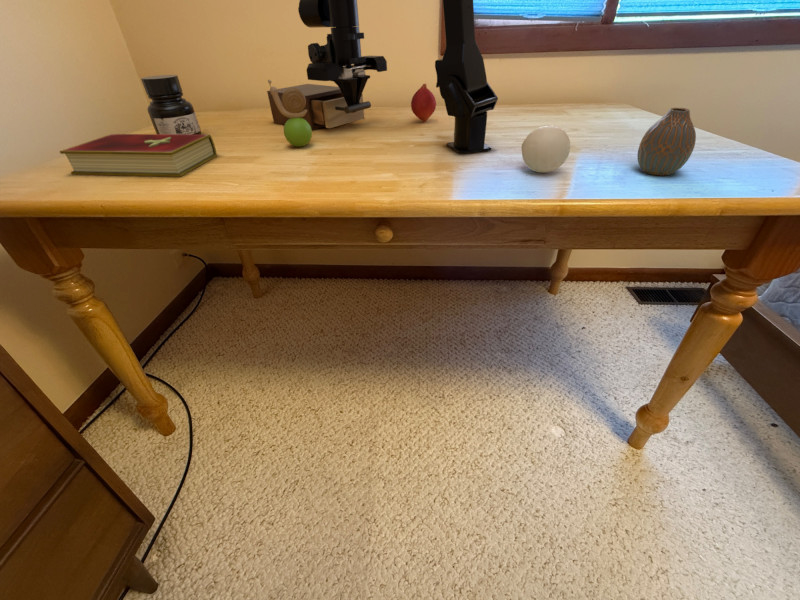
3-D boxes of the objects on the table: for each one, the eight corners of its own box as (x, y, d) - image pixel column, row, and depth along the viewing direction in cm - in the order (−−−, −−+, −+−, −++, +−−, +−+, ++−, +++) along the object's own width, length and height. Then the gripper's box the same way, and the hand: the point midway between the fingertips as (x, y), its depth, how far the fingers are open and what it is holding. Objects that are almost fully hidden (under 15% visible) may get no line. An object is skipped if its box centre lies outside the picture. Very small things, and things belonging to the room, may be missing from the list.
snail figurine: (279, 145, 78) (265, 78, 71) (310, 141, 80) (300, 75, 73) (284, 152, 74) (269, 81, 67) (316, 147, 76) (306, 78, 69)
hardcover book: (121, 154, 77) (111, 132, 74) (217, 155, 74) (210, 132, 71) (72, 174, 67) (58, 149, 65) (180, 176, 64) (170, 150, 62)
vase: (682, 182, 55) (709, 116, 50) (629, 174, 58) (649, 111, 53) (683, 168, 60) (708, 106, 55) (634, 162, 63) (654, 103, 58)
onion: (408, 123, 90) (407, 85, 85) (414, 118, 94) (414, 81, 90) (432, 124, 89) (433, 85, 84) (437, 119, 93) (438, 81, 88)
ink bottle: (163, 146, 80) (138, 81, 73) (152, 139, 86) (128, 77, 79) (209, 137, 85) (190, 75, 78) (196, 131, 91) (177, 72, 84)
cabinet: (350, 119, 96) (347, 87, 91) (312, 130, 88) (306, 95, 84) (312, 113, 103) (307, 83, 99) (273, 122, 95) (266, 90, 91)
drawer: (378, 120, 90) (376, 95, 86) (343, 131, 83) (340, 104, 79) (326, 112, 99) (323, 89, 96) (291, 121, 92) (286, 96, 89)
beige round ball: (540, 161, 65) (547, 118, 61) (573, 173, 60) (584, 127, 56) (508, 168, 62) (514, 124, 58) (540, 181, 57) (549, 134, 53)
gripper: (349, 25, 86) (356, 102, 96) (282, 29, 75) (297, 116, 84) (386, 24, 80) (390, 106, 90) (319, 29, 69) (331, 122, 78)
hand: (353, 112), depth 86 cm, fingers closed, pressing on drawer
